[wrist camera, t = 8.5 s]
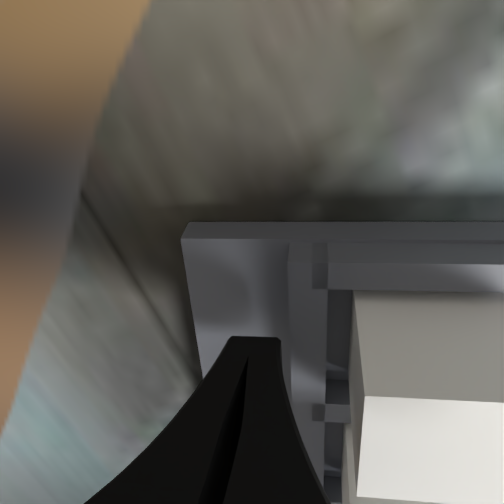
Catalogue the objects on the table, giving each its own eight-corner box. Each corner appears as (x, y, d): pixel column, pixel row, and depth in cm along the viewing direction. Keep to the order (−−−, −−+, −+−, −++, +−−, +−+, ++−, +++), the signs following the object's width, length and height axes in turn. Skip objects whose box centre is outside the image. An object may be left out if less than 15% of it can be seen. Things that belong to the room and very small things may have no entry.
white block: (484, 379, 14) (537, 510, 11) (348, 373, 15) (356, 496, 11) (509, 285, 12) (581, 406, 9) (352, 282, 13) (364, 395, 9)
